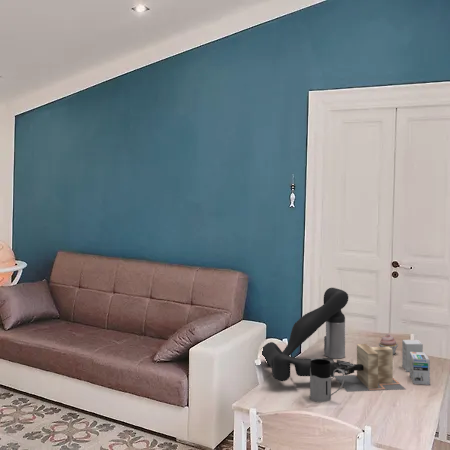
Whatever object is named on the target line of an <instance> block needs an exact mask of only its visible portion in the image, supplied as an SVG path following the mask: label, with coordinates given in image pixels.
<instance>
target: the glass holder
mask: <svg viewBox="0 0 450 450" xmlns="http://www.w3.org/2000/svg"><path fill="white" fill-rule="evenodd" d="M336 370H340V371H341V372H342V373H341V374H342V375H343V382H342V385H341V384H340V387H339V388H338V389H336V390H335V391H334V392H333V393H332V380H333V379H334V378H335V377H334V376H335V373H336V372H335V371H336ZM343 383H344V373H343V371H342V370H341V369H335V370H334V372H333V377H331V364H330V361H328V360H325V359H314V360H311V368H310V376H309V391H310V392H309V395H310V396H309V399H310V400H311V401H314V402H317V403H326V402H330V401H332V396H333V395H334V394H336V393H337V392H339V391H340V390H342V388H343V387H342V386H343Z"/></svg>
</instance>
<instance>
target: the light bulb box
mask: <svg viewBox="0 0 450 450" xmlns="http://www.w3.org/2000/svg"><path fill="white" fill-rule="evenodd" d="M430 362H431V359H430V358H429V356H428V354H427V353H426V352H424V351H423V352H410V372H409V376H410V378H411V380H412V381H411V382H412V383H413V385H427V386H428V385H430V384H431V383H430V382H431V379H430V378H431V377H430V375H431V373H430V369H431V367H430V365H431V363H430Z"/></svg>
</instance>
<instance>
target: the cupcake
mask: <svg viewBox="0 0 450 450" xmlns="http://www.w3.org/2000/svg"><path fill="white" fill-rule="evenodd" d="M378 345H379V346H378V347H390V348H392V349H393V356H394V355H395V354H396V352H397V351H396V350H397V349H398V346H399V344H398V343H397V340H396V339H395V338H394V336H393V335H392V334H389V333H388V334H386V335H385V336H382V337H381V339H380V342H379V343H378Z"/></svg>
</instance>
